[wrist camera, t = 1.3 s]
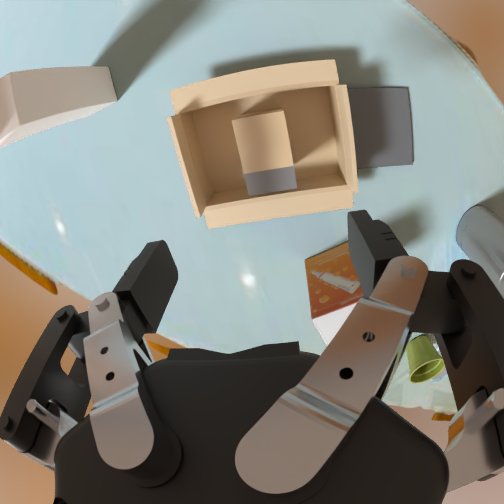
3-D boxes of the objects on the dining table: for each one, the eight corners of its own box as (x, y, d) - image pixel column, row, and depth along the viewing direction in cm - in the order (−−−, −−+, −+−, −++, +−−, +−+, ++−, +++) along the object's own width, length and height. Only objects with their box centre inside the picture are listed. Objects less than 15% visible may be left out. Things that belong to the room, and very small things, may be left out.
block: (280, 106, 31) (283, 110, 23) (291, 165, 35) (297, 188, 27) (241, 113, 31) (231, 120, 24) (254, 171, 36) (248, 195, 28)
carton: (326, 63, 27) (341, 56, 20) (344, 193, 37) (359, 218, 30) (182, 90, 30) (159, 91, 24) (215, 212, 40) (203, 240, 33)
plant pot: (410, 330, 51) (422, 361, 44) (440, 329, 51) (453, 357, 44) (393, 355, 56) (402, 385, 49) (422, 354, 56) (432, 381, 49)
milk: (109, 66, 28) (-15, 75, 9) (118, 101, 31) (-4, 134, 12) (78, 84, 29) (-40, 110, 10) (87, 117, 32) (-28, 162, 13)
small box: (349, 239, 41) (373, 295, 30) (361, 268, 43) (383, 326, 32) (302, 259, 43) (310, 320, 32) (317, 286, 46) (327, 347, 35)
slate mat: (405, 88, 27) (407, 88, 27) (410, 163, 33) (412, 164, 32) (344, 88, 29) (345, 88, 28) (353, 167, 34) (355, 169, 34)
